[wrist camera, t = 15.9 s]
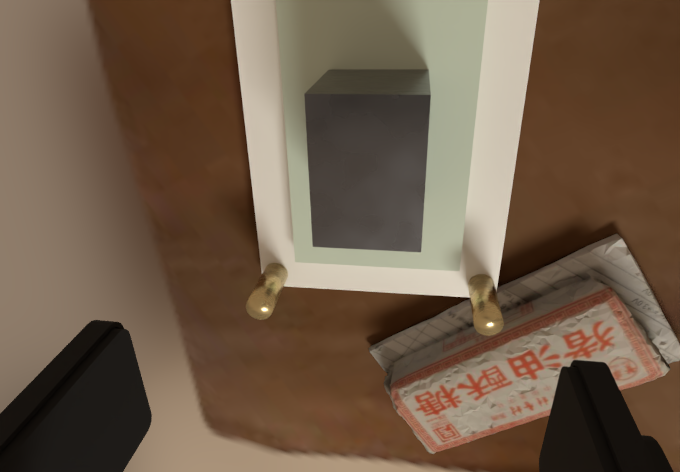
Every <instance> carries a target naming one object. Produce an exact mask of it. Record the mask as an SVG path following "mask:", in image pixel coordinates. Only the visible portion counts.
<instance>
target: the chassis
mask: <svg viewBox="0 0 680 472" xmlns="http://www.w3.org/2000/svg"><path fill="white" fill-rule="evenodd" d="M231 6H232V15H233V23H234V32H235V41H236V50H237V59H238V67H239V76H240V85H241V94H242V103H243V112H244V120H245V129H246V138H247V147H248V156H249V164H250V173H251V182H252V191H253V200H254V208H255V217H256V226H257V235H258V244H259V252H260V261H261V270H262V275H261V277H260V279H259V281H258V283H257V285H256V286H255V288H254V290H253V292H252V294H251V296H250V298H249V300H248V301H247V303H246V310H247V312H248V313H249V315H251V316H252V317H253V318H256V319H260V320H263V319H267V318H268V317H270V316H271V314H272V312H273V309H274V307H275V305H276V303H277V300H278V298H279V296H280V294H281V291H282V289H283V287H284V286H289V287H305V288H321V289H338V290H354V291H371V292H387V293H404V294H420V295H437V296H453V297H469V298H470V303H471V309H472V316H473V322H474V328H475V329H476V331H477V332H478V333H480V334H482V335H486V336H491V335H495V334H497V333H499V332H500V331H501V330H502V328H503V326H504V321H503V317H502V313H501V309H500V305H499V301H498V297H497V286H498V279H499V272H500V266H501V259H502V252H503V245H504V238H505V232H506V225H507V218H508V211H509V204H510V197H511V191H512V184H513V177H514V170H515V163H516V157H517V150H518V143H519V136H520V129H521V122H522V116H523V109H524V102H525V95H526V88H527V82H528V75H529V68H530V61H531V54H532V47H533V41H534V34H535V27H536V20H537V13H538V7H539V0H488V5H487V15H486V24H485V34H484V43H483V53H482V62H481V72H480V81H479V91H478V100H477V110H476V119H475V129H474V138H473V148H472V158H471V167H470V177H469V186H468V196H467V205H466V215H465V224H464V234H463V243H462V253H461V262H460V271H445V270H427V269H409V268H391V267H373V266H355V265H337V264H319V263H301V262H295V253H294V240H293V226H292V213H291V199H290V186H289V172H288V159H287V145H286V132H285V118H284V105H283V91H282V78H281V64H280V51H279V37H278V24H277V10H276V0H231Z"/></svg>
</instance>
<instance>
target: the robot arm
mask: <svg viewBox="0 0 680 472" xmlns="http://www.w3.org/2000/svg"><path fill="white" fill-rule="evenodd" d="M150 424H151V410H150V407H149V403H148V399H147V396H146V392H145V389H144V385H143V381H142V377H141V374H140V370H139V366H138V362H137V359H136V355H135V351H134V348H133V344H132V340H131V337H130V334H129V331H128V330H126V329H124V328H123V326H122V324H121V323H119V322H111V321H100V320H94V321H91V322H90V323H89V324H87V325H86V326H85V328H84V329H82V331H81V332H80V333H79V334H78V335H77V336H76V337H75V338H74V339H73V340H72V341H71V342H70V343H69V344H68V345H67V346H66V347H65V348H64V349H63V350H62V351H61V352H60V353H59V354H58V355H57V356H56V357H55V358H54V359H53V360H52V361H51V362H50V363H49V364H48V365H47V366H46V368H44V370H43V371H42V372H41V373H40V374H39V375H38V376H37V377H36V378H35V379H34V380H33V381H32V382H31V383H30V384H29V385H28V386H27V387H26V388H25V389H24V390H23V391H22V392H21V393H20V394H19V395H18V396H17V397H16V398H15V399H14V400H13V401H12V402H11V403H10V404H9V405H8V406H7V407H6V409H4V411H3V412H2V413H1V414H0V472H123V471H124V469H125V467H126V466H127V464H128V462H129V461H130V459H131V458H132V456H133V454H134V453H135V451H136V449H137V448H138V446H139V444H140V443H141V441H142V440H143V438H144V436H145V435H146V433H147V431H148V429H149V427H150ZM539 471H540V472H673V470H672V468H671V466H670V464H669V462H668V460H667V458H666V456H665V454H664V452H663V450H662V448H661V447H660V445H659V444H658V442H657V441H656V440H655V439H654V438H653V437H651V436H644V435H641V434H640V432H639V430H638V428H637V426H636V424H635V421H634V419H633V417H632V415H631V413H630V411H629V409H628V407H627V405H626V402H625V400H624V398H623V396H622V394H621V392H620V390H619V388H618V386H617V383H616V381H615V379H614V377H613V375H612V373H611V371H610V369H609V367H608V365H607V364H606V363H604V362H596V361H584V360H573V361H572V363H571V365H570V367H567V366H563V367H562V368H561V371H560V375H559V379H558V383H557V387H556V391H555V395H554V400H553V404H552V408H551V412H550V416H549V420H548V424H547V428H546V433H545V437H544V441H543V445H542V449H541V453H540V458H539Z"/></svg>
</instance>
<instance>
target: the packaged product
mask: <svg viewBox="0 0 680 472" xmlns="http://www.w3.org/2000/svg"><path fill="white" fill-rule="evenodd" d="M497 297H498V301H499V305H500V309H501V313H502V317H503V321H504V326H503V328H502V330H501V331H500V332H499V333H497V334H495V335H491V336H486V335H482V334H480V333H478V332H477V331H476V329H475V328H474V322H473V316H472V309H471V303H470V299H469V300H466V301H464V302H462V303H460V304H458V305H456V306H453V307H451V308H449V309H447V310H446V311H444V312H442V313H440V314H439V315H437V316H435V317H433V318H431V319H428V320H426V321H423V322H421V323H419V324H417V325H415V326H412V327H410V328H408V329H406V330H404V331H401V332H399V333H397V334H395V335H393V336H391V337H388V338H386V339H385V340H383V341H381V342H379V343H377V344H375V345H372V346H371V347H370V348H369V352H370V353H371V354H372V355H373V357H374V358H375V359H376V360H377V362H378V363H379V364H380V366H381V367H382V368H383V369H384V371H386V372H387V373H388V375H387V376H386V377H385V381H384V386H385V389H386V391H387V393H388V394H389V395H390V398H391V400H392V403H393V408H394V409H395V410H396V412H397V413H398V414H399V415H400V416H402V418H403V419H404V420H406V422H407V423H408V425H409V426H410V427H411V428H412V431H413V433H414V434H415V435H416V437H417V439H418V440H420V441H421V442H422V443H423V445H424V447H425V448H426V450H427V451H428V452H429V453H433V454H434V453H436V452H438V451H442V450H445V449H448V448H452V447H454V446H455V447H456V446H459V445H461V444H464V443H468V442H470V441H473V440H475V439H479V438H482V437H484V436H487V435H490V434H492V435H493V434H495V433H497V432H498V431H502V430H506V429H509V428H512V427H514V426H518V425H521V424H525V423H528V422H530V421H533V420H535V419H538V418H541V417H546V416H549V415H550V412H551V408H552V404H553V400H554V395H555V391H556V387H557V383H558V379H559V375H560V371H561V368H562V367H563V366H567V367H570V365H571V363H572V361H573V360H584V361H596V362H604V363H606V364H607V365H608V367H609V369H610V371H611V373H612V375H613V377H614V379H615V381H616V383H617V386H618V388H619V390H622V389H625V388H630V387H634V386H637V385H641V384H643V383H645V382H648V381H653V380H655V379H656V378H658V377H661V376H665V374H666V373H667V372H668V371H669V370H670V367H669V365H668V364H669V363H671V362H675V361H679V360H680V343H679V341H678V339H677V337H676V335H675V333H674V332H673V330H672V328H671V326H670V325H669V323H668V321H667V320H666V318H665V316H664V314H663V312H662V310H661V308H660V306H659V304H658V302H657V300H656V298H655V296H654V294H653V292H652V290H651V288H650V286H649V284H648V283H647V281H646V279H645V277H644V275H643V273H642V272H641V270H640V268H639V266H638V264H637V262H636V260H635V259H634V257H633V256H632V254H631V252H630V251H629V249H628V248H627V246H626V244H625V243H624V241H623V239H622V238H621V237H620V236H619V235H618V234H614V235H612V236H610V237H607V238H605V239H603V240H600V241H598V242H595V243H593V244H591V245H588V246H586V247H584V248H582V249H580V250H578V251H576V252H574V253H572V254H570V255H568V256H566V257H564V258H562V259H560V260H558V261H556V262H554V263H552V264H550V265H547V266H545V267H543V268H541V269H539V270H537V271H534V272H532V273H530V274H527V275H525V276H523V277H520V278H518V279H516V280H513V281H511V282H509V283H507V284H504V285H502V286H500V287H497Z"/></svg>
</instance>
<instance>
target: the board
mask: <svg viewBox="0 0 680 472" xmlns="http://www.w3.org/2000/svg"><path fill="white" fill-rule="evenodd" d="M487 5H488V0H276V10H277V24H278V37H279V51H280V64H281V78H282V91H283V105H284V118H285V132H286V145H287V159H288V172H289V186H290V199H291V213H292V226H293V240H294V253H295V262H301V263H319V264H337V265H355V266H373V267H391V268H409V269H427V270H445V271H460V262H461V253H462V243H463V234H464V224H465V215H466V205H467V196H468V186H469V177H470V167H471V158H472V148H473V138H474V129H475V119H476V110H477V100H478V91H479V81H480V72H481V62H482V53H483V43H484V34H485V24H486V15H487Z"/></svg>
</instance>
